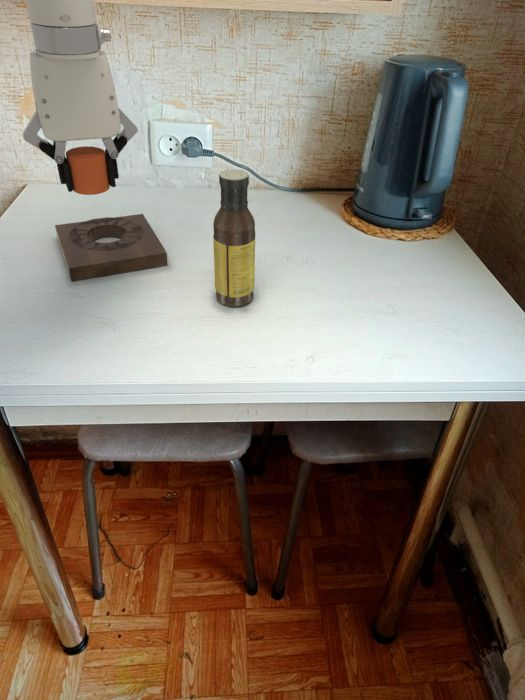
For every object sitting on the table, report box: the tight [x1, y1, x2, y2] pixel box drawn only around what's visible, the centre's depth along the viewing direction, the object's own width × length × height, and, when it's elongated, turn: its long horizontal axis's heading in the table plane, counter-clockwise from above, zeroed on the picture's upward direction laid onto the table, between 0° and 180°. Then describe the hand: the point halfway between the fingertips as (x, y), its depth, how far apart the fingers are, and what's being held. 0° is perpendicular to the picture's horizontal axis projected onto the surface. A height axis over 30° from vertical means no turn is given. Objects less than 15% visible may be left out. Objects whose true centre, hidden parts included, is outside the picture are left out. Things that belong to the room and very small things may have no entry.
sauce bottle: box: [212, 169, 256, 308], centre depth 75 cm, size 6×6×20 cm
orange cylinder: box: [65, 145, 111, 196], centre depth 72 cm, size 5×5×5 cm
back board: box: [54, 213, 169, 282], centre depth 90 cm, size 16×16×2 cm
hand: (90, 184), depth 73 cm, fingers closed on orange cylinder, 5 cm apart
